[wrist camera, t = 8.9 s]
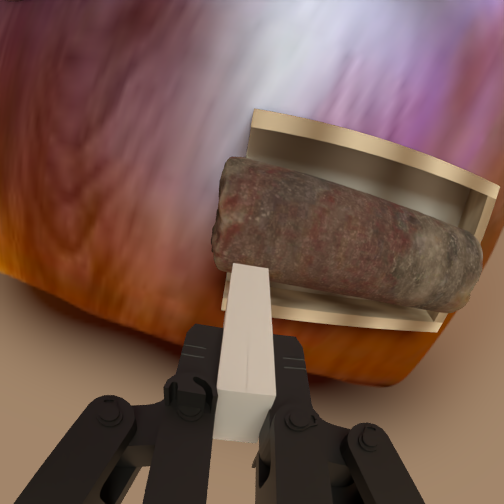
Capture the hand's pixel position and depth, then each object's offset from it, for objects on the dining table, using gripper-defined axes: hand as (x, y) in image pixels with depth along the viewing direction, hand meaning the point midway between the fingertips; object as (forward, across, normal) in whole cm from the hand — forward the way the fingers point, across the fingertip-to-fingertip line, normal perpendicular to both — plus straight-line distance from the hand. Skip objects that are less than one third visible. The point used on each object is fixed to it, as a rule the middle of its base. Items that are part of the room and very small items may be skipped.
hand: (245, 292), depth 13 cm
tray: (+11, +10, 0) cm, 15 cm away
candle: (+8, -2, +1) cm, 8 cm away
